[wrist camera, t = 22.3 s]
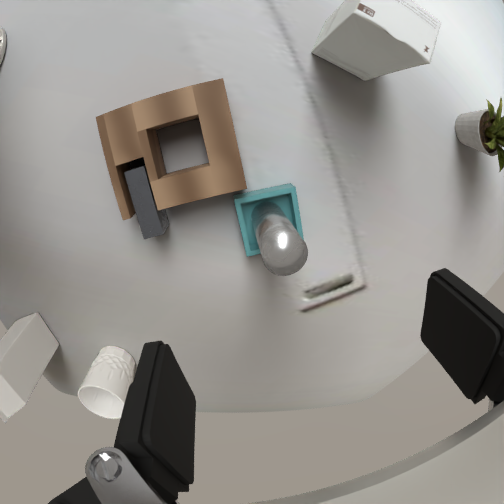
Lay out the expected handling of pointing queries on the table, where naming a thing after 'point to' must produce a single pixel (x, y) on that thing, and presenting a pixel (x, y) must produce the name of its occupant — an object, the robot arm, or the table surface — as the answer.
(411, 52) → the skincare box
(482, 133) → the house plant
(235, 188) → the socket block
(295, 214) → the tray
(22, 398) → the milk carton
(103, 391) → the white cup
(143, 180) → the bar
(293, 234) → the peg
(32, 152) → the table surface
